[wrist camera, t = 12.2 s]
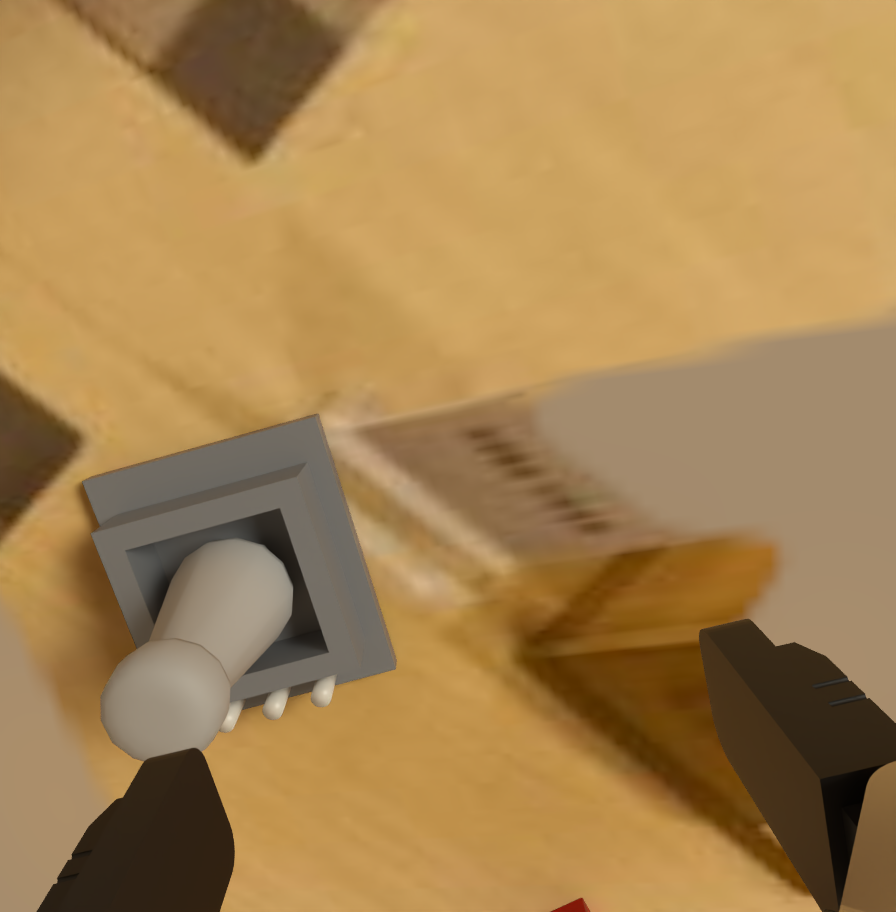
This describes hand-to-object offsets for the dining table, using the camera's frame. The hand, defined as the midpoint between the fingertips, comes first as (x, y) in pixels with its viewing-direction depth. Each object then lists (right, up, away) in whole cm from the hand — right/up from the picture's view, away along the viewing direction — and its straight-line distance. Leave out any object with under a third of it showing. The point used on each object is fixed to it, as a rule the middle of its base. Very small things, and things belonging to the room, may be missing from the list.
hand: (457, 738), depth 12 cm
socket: (-11, -2, +27) cm, 29 cm away
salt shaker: (-11, -2, +27) cm, 29 cm away
